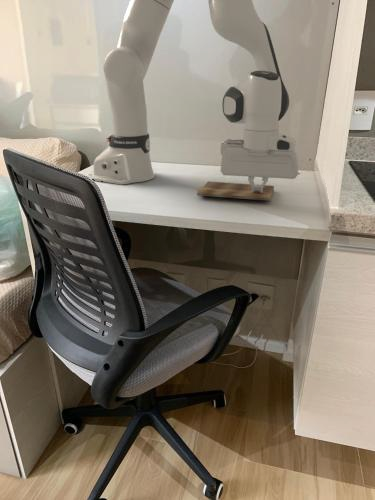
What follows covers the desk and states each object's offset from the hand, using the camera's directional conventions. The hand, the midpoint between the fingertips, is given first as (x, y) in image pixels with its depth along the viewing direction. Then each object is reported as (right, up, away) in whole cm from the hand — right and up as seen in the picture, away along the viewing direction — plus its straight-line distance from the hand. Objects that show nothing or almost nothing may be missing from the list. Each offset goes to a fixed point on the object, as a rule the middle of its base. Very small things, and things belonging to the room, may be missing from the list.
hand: (257, 192), depth 107 cm
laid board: (-4, +2, +10) cm, 11 cm away
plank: (-6, -1, +3) cm, 7 cm away
